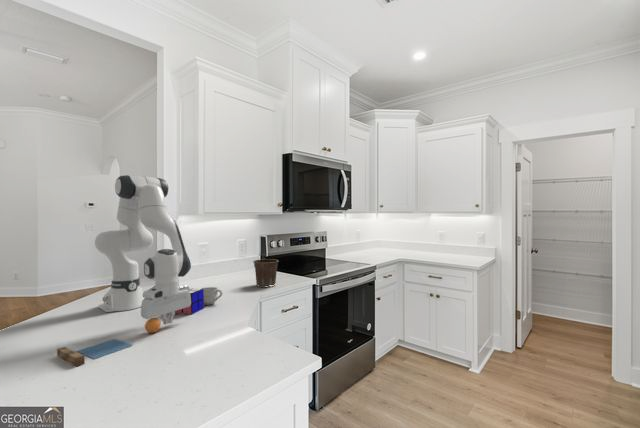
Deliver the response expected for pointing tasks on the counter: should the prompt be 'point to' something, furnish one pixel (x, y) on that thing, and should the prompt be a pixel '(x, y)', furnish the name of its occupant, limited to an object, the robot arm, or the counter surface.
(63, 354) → the rail
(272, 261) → the plant pot
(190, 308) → the puzzle cube
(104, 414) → the counter surface
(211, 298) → the teacup
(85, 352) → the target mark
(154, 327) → the ball
